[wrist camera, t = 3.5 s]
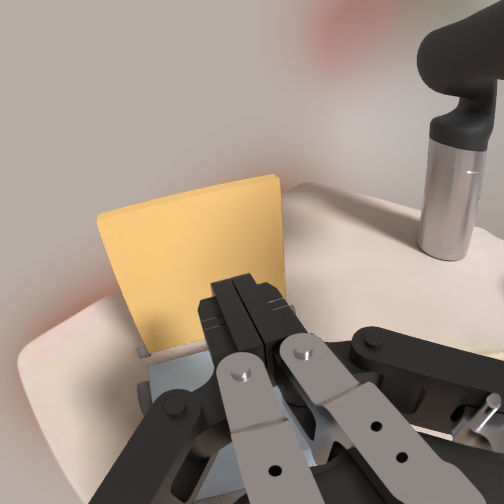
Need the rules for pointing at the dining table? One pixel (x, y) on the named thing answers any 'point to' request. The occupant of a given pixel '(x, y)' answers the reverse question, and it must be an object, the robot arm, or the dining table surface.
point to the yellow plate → (192, 253)
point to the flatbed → (191, 378)
